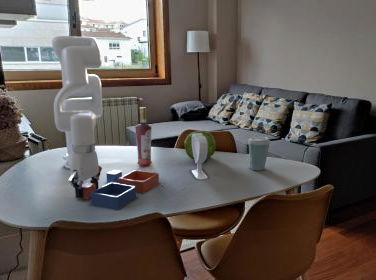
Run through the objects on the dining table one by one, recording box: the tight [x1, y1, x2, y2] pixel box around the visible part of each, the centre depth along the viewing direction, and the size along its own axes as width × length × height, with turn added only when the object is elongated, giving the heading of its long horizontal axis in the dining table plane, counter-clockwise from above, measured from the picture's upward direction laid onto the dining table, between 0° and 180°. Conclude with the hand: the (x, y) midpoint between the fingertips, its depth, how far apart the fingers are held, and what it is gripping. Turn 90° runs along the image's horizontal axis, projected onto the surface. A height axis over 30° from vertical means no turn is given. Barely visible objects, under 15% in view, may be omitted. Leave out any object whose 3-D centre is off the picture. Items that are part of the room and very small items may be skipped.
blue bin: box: [90, 182, 137, 211], centre depth 129 cm, size 11×11×4 cm
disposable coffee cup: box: [247, 136, 271, 171], centre depth 169 cm, size 11×11×15 cm
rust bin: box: [118, 169, 160, 194], centre depth 143 cm, size 11×11×4 cm
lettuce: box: [184, 130, 217, 160], centre depth 183 cm, size 16×21×15 cm
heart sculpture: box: [191, 133, 208, 180], centre depth 158 cm, size 16×5×18 cm, turn 18°
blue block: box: [105, 169, 123, 184], centre depth 147 cm, size 4×4×4 cm
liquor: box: [134, 106, 153, 168], centre depth 167 cm, size 7×7×28 cm
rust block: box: [82, 181, 96, 200], centre depth 133 cm, size 4×4×4 cm
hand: (87, 193), depth 133 cm, fingers open, 7 cm apart
